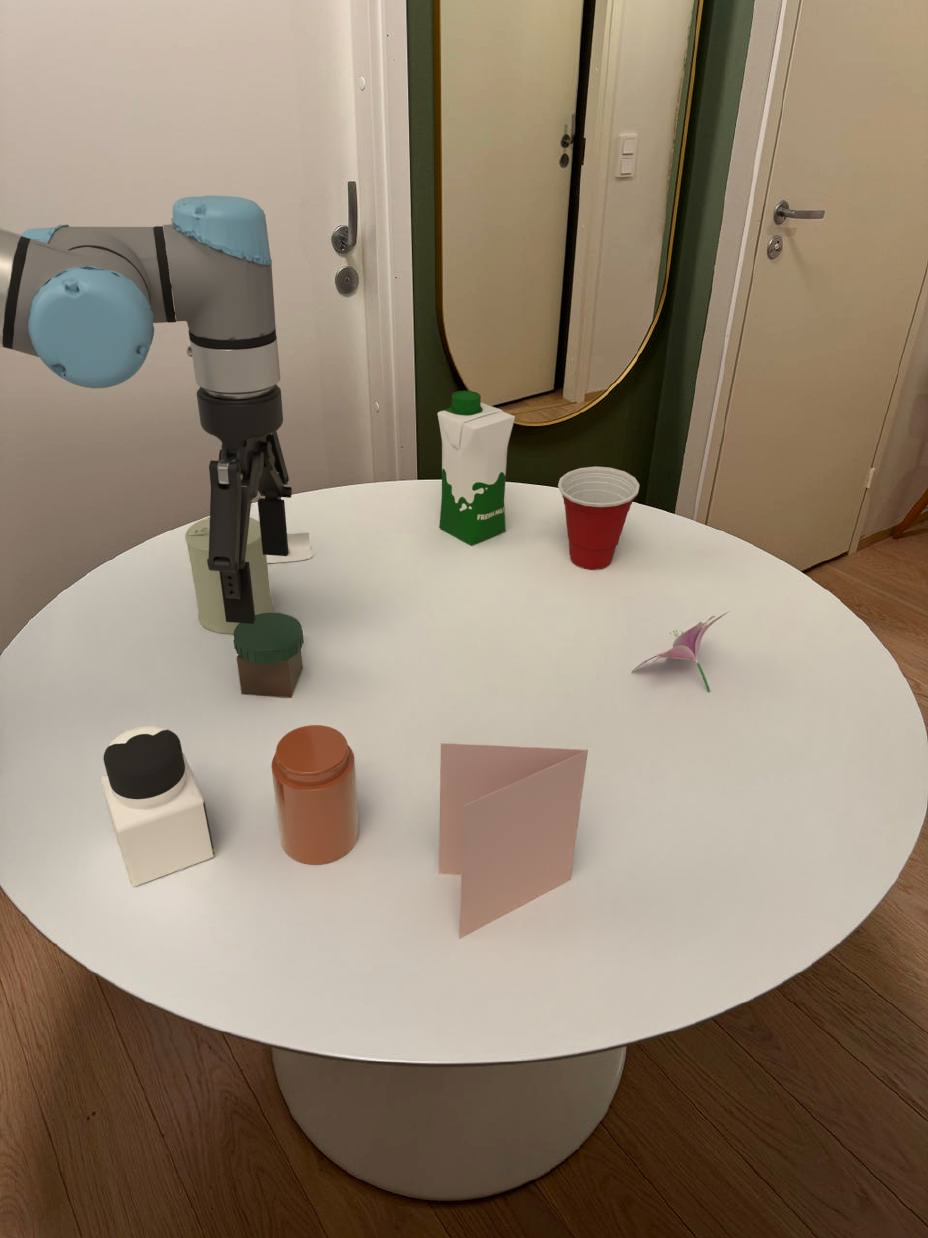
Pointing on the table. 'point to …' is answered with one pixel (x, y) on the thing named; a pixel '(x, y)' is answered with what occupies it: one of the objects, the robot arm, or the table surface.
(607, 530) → the plastic cup
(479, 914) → the greeting card
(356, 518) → the table surface
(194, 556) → the can
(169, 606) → the table surface
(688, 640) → the lily
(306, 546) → the white curved plate
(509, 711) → the table surface
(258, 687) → the riser
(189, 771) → the medicine bottle
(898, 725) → the table surface
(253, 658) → the lid
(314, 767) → the jar
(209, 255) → the robot arm
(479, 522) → the milk carton
